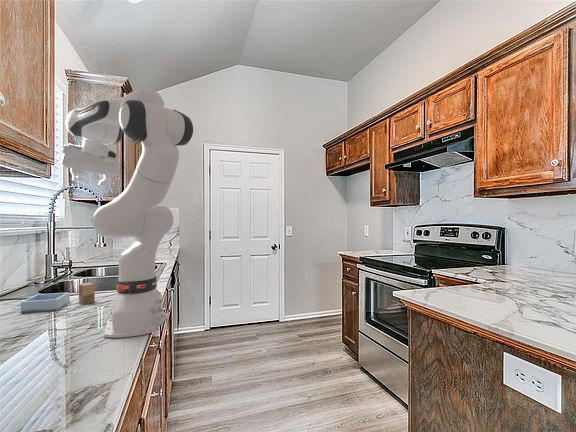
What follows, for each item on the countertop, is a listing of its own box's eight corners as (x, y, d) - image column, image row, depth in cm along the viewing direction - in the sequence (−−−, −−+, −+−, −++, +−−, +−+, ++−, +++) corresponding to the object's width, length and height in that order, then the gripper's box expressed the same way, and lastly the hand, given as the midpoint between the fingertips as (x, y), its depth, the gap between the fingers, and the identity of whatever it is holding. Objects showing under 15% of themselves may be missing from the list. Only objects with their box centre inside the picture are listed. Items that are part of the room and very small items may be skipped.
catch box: (57, 310, 123) (56, 299, 123) (20, 313, 120) (20, 302, 120) (69, 302, 134) (69, 292, 134) (36, 304, 131) (36, 294, 131)
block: (94, 302, 133) (94, 283, 133) (83, 304, 130) (83, 285, 130) (89, 300, 136) (89, 282, 136) (79, 302, 133) (78, 284, 133)
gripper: (64, 142, 123) (58, 178, 124) (123, 156, 137) (116, 188, 138) (62, 142, 128) (56, 176, 128) (119, 155, 141) (113, 186, 142)
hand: (88, 183), depth 133 cm, fingers open, 8 cm apart
